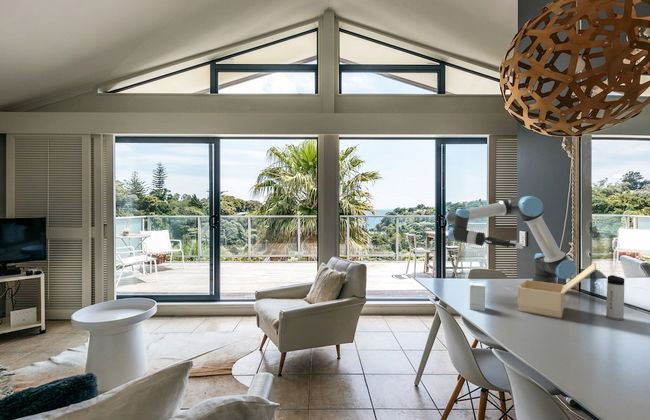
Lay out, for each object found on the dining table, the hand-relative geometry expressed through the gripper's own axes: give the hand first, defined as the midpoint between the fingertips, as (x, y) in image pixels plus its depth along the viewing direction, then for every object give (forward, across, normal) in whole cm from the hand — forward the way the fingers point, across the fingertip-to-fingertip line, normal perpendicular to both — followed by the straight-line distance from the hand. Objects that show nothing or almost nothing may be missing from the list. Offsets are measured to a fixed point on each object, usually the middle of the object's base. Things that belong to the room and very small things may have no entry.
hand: (522, 246), depth 184 cm
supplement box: (-14, +24, -33) cm, 43 cm away
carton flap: (+26, +5, -10) cm, 28 cm away
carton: (+13, +4, -30) cm, 33 cm away
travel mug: (+42, 0, -27) cm, 50 cm away
